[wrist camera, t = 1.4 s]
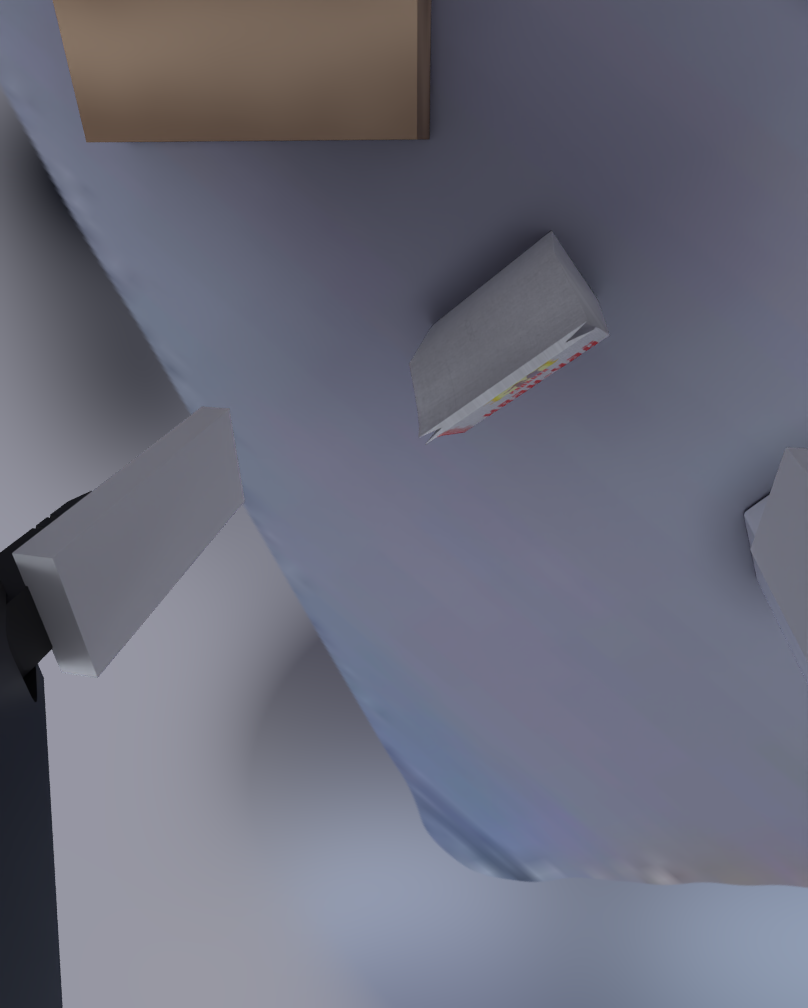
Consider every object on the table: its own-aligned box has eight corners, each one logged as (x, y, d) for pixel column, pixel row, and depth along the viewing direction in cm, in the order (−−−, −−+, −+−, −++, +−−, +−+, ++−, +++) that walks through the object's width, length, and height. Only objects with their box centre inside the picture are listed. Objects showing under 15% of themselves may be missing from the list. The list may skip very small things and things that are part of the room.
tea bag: (431, 325, 29) (387, 400, 21) (551, 230, 26) (556, 272, 18) (477, 384, 30) (452, 477, 22) (597, 299, 27) (622, 370, 19)
